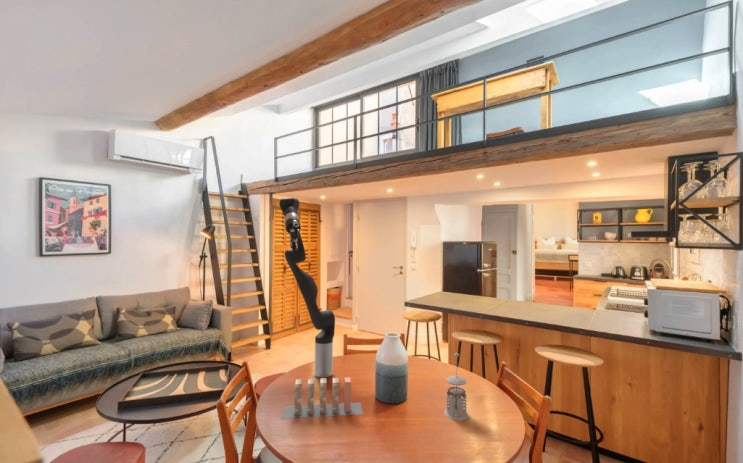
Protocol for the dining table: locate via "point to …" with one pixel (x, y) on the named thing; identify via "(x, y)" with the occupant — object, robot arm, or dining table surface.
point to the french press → (456, 398)
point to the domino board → (290, 412)
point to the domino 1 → (298, 396)
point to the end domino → (347, 394)
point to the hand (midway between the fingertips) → (295, 244)
